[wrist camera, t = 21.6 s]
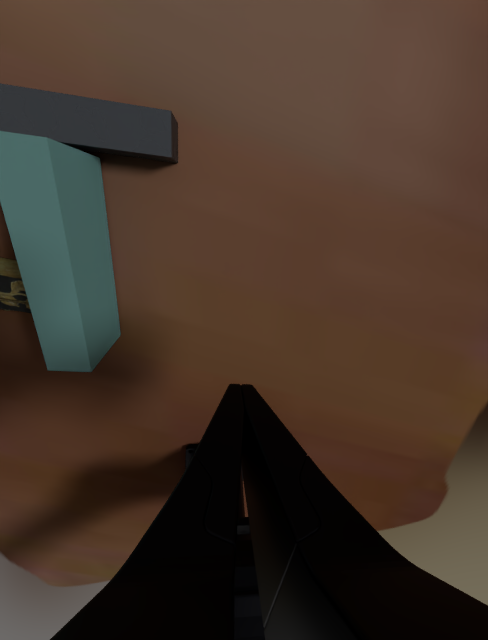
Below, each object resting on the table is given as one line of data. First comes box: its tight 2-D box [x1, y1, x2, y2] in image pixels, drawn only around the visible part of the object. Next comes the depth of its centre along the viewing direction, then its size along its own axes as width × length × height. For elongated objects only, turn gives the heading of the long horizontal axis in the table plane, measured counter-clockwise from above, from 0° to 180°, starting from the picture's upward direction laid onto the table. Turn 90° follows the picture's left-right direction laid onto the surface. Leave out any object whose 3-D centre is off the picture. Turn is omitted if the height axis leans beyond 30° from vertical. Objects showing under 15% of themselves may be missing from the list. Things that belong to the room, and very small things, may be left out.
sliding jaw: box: [0, 131, 121, 372], centre depth 15 cm, size 12×2×5 cm, turn 174°
